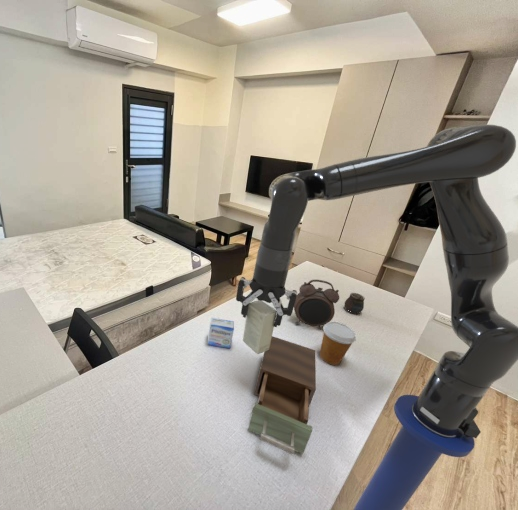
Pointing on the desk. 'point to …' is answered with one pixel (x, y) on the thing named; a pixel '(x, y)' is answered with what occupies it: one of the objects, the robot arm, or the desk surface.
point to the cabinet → (289, 365)
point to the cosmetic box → (259, 326)
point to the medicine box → (220, 333)
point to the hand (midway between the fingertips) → (259, 320)
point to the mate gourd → (355, 303)
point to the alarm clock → (315, 304)
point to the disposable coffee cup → (336, 342)
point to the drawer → (282, 414)
